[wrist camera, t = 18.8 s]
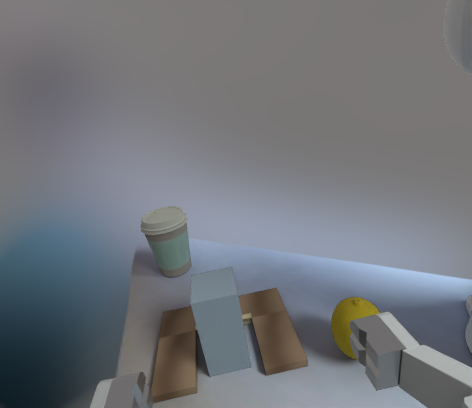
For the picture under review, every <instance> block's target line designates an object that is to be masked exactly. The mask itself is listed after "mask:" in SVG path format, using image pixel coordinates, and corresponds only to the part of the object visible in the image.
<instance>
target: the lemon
mask: <svg viewBox="0 0 472 408" xmlns="http://www.w3.org/2000/svg"><path fill="white" fill-rule="evenodd" d="M376 314H380V312H379V310H378V309H377V308H376V307H375V306H374V305H373V304H372V303H371V302H369V301H368V300H365V299H363V298H359V297H350V298H346V299H344V300H342V301H341V302H340V303H339V304H338V305H337V306H336V308H335V310H334V312H333V316H332V323H331V329H332V334H333V338H334V340H335V342H336V344H337V346H338V347H339V348H340V350H341V351H342V352H343V353H345V354H346V355H347V356H349V357H351V358H353V359H356V360H357V358H356V357H355V355H354V353H353V350H352V347H351V344H350V335H351V334H352V333H353V332H352V330H351V329H350V322H351V320H355V319H359V318H363V317H367V316H371V315H376Z"/></svg>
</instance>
